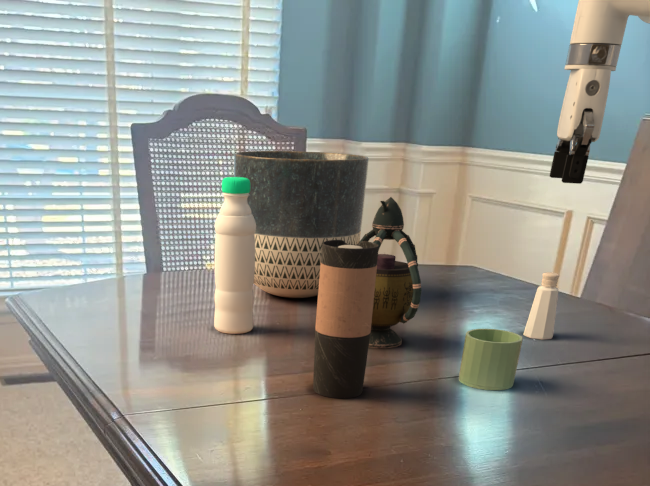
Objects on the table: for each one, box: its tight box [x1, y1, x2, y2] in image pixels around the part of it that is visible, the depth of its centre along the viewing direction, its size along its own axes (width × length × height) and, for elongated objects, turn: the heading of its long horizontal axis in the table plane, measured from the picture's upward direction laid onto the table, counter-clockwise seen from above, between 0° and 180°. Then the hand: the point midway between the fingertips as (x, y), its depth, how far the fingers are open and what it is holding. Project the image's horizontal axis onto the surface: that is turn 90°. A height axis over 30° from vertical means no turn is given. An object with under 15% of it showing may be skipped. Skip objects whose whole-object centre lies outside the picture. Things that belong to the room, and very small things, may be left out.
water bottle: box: [213, 176, 256, 335], centre depth 133 cm, size 7×7×25 cm
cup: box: [458, 328, 524, 391], centre depth 115 cm, size 8×8×7 cm
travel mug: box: [312, 240, 380, 399], centre depth 106 cm, size 8×8×20 cm
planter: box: [233, 150, 369, 299], centre depth 159 cm, size 27×27×27 cm
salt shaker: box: [523, 271, 560, 341], centre depth 138 cm, size 5×5×11 cm
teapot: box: [357, 196, 422, 349], centre depth 132 cm, size 12×25×23 cm, turn 179°
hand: (565, 180), depth 128 cm, fingers open, 9 cm apart
